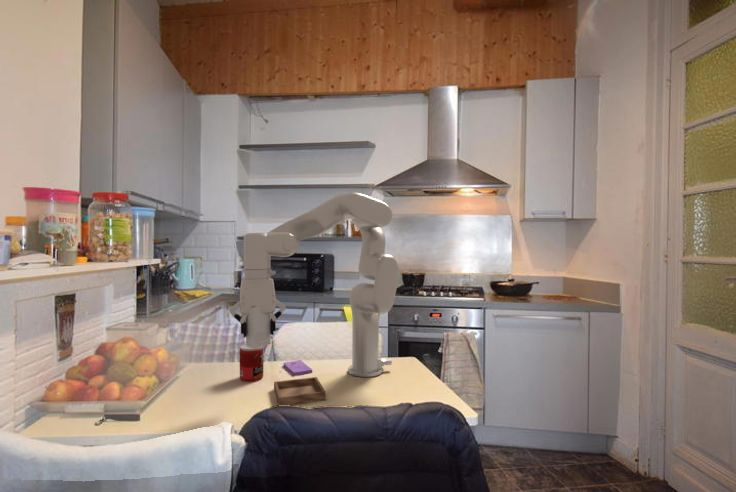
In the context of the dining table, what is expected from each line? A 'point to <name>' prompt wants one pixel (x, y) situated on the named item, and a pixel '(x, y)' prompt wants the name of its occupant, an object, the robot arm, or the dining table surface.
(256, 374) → the canned food
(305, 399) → the tray
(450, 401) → the dining table surface
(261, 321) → the skincare box
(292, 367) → the sponges
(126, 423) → the dining table surface
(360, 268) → the robot arm
